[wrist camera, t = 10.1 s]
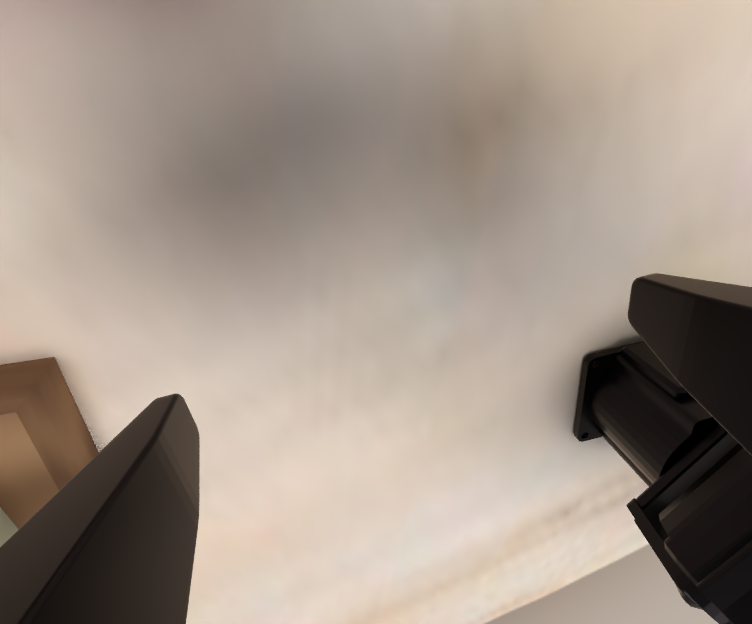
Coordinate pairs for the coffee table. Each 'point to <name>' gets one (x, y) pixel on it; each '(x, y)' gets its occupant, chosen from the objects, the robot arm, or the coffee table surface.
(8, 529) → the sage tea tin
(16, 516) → the walnut block
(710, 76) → the coffee table surface
